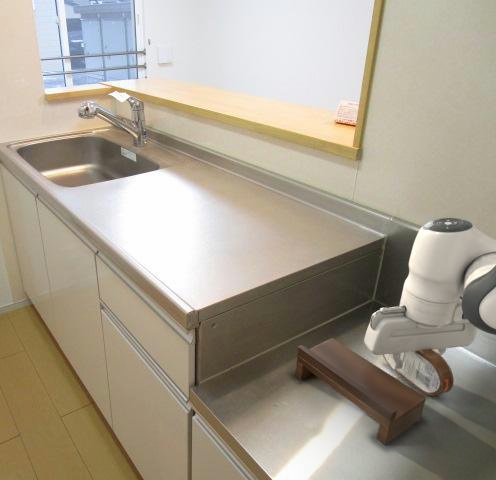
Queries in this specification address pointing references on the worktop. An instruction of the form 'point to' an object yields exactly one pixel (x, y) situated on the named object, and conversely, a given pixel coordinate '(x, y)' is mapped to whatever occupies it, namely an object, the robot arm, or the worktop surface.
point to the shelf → (363, 386)
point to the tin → (425, 371)
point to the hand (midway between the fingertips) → (412, 365)
